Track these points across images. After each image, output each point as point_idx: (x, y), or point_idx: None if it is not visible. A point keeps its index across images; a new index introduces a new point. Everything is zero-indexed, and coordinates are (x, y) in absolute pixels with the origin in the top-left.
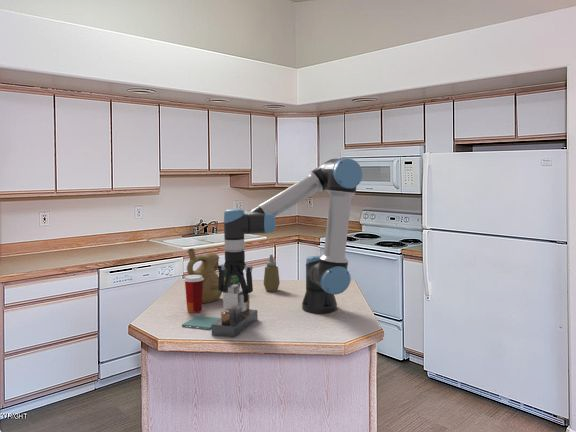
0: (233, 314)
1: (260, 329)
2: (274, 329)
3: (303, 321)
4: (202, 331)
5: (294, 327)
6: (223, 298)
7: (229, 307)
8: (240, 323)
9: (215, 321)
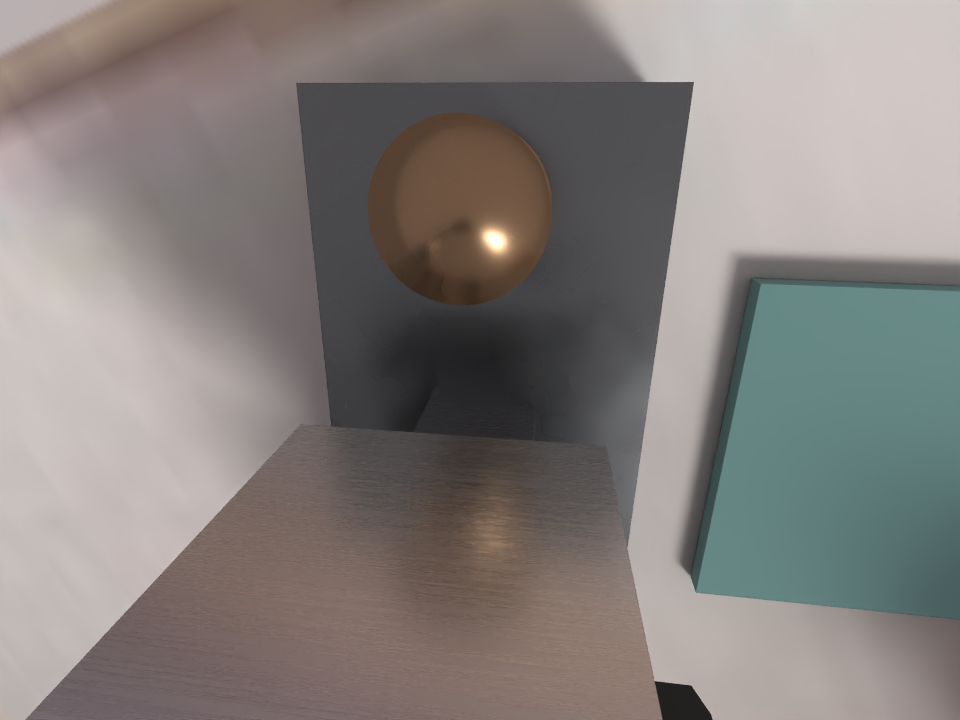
0: (450, 434)
1: (241, 419)
2: (134, 446)
3: (57, 646)
4: (827, 196)
5: (29, 521)
6: (627, 599)
7: (470, 450)
8: (327, 309)
9: (759, 496)
